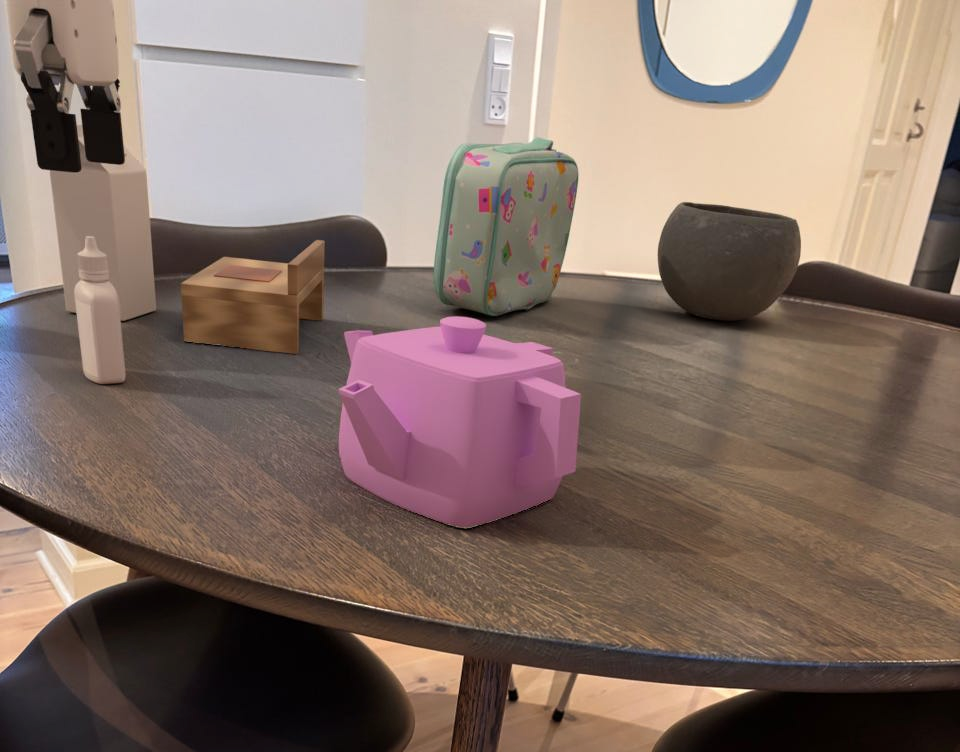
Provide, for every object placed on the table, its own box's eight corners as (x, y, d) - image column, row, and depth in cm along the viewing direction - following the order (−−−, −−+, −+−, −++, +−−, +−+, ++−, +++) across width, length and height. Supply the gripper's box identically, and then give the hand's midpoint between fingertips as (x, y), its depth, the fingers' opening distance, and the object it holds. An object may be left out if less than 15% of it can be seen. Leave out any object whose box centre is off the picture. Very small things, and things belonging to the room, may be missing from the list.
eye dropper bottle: (70, 383, 83) (52, 239, 77) (89, 366, 88) (73, 230, 82) (120, 387, 84) (107, 244, 78) (136, 370, 89) (125, 234, 83)
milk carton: (65, 313, 105) (42, 120, 95) (102, 302, 111) (84, 120, 101) (123, 322, 104) (105, 129, 94) (157, 311, 110) (143, 128, 100)
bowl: (790, 340, 133) (820, 226, 125) (646, 320, 134) (667, 207, 127) (774, 313, 150) (799, 212, 143) (647, 296, 152) (665, 195, 144)
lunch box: (505, 288, 146) (522, 132, 135) (566, 299, 142) (589, 141, 131) (422, 312, 124) (434, 130, 113) (492, 326, 121) (511, 140, 110)
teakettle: (574, 540, 65) (604, 360, 59) (328, 524, 63) (331, 337, 57) (543, 455, 79) (564, 305, 73) (341, 441, 77) (345, 285, 71)
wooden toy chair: (183, 342, 99) (178, 252, 95) (225, 308, 115) (222, 229, 110) (297, 354, 100) (297, 264, 95) (323, 318, 115) (324, 240, 111)
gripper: (51, -80, 76) (79, 156, 84) (-58, -124, 61) (-12, 169, 69) (145, -71, 76) (162, 164, 84) (58, -112, 61) (90, 179, 69)
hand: (84, 166), depth 77 cm, fingers open, 9 cm apart
